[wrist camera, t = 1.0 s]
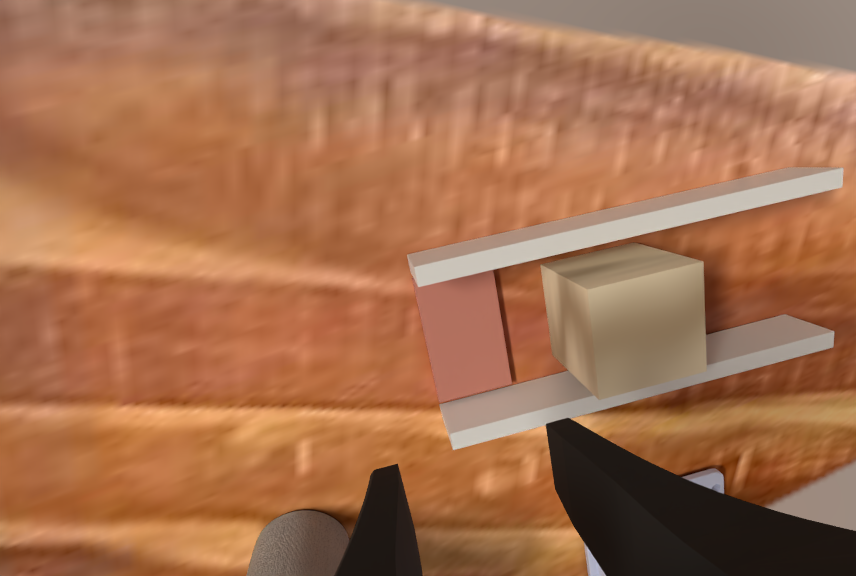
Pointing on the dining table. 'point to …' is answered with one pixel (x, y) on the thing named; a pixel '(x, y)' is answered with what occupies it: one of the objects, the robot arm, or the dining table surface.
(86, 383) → the dining table surface
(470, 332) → the pad
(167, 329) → the dining table surface
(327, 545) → the grey hollow tube
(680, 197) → the channel
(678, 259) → the block
